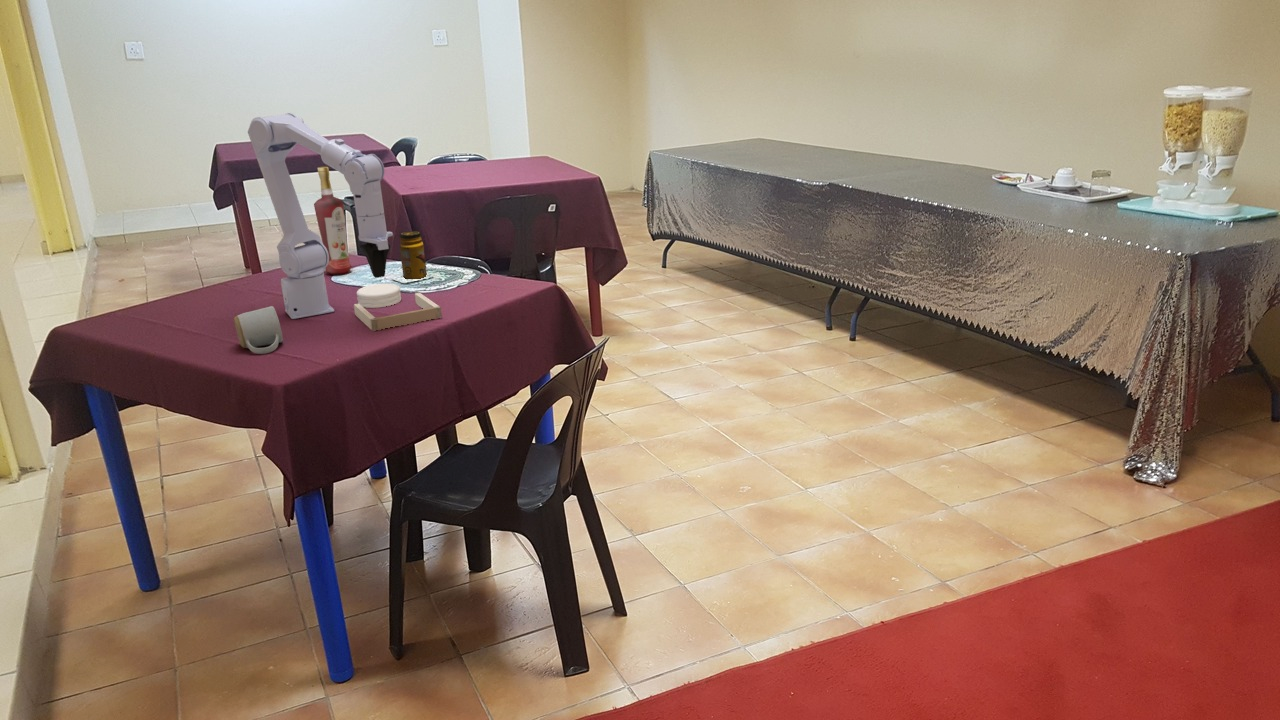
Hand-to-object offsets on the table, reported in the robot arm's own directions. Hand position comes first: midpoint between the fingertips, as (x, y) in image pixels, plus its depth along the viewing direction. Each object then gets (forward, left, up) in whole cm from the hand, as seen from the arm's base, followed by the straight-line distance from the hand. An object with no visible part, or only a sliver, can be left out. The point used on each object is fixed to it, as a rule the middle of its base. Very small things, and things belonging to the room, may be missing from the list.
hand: (379, 276), depth 194 cm
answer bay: (+4, +3, -10) cm, 11 cm away
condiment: (+17, +33, -11) cm, 39 cm away
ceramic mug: (-26, 0, -11) cm, 28 cm away
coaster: (+4, +17, -11) cm, 21 cm away
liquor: (+3, +52, -11) cm, 53 cm away
